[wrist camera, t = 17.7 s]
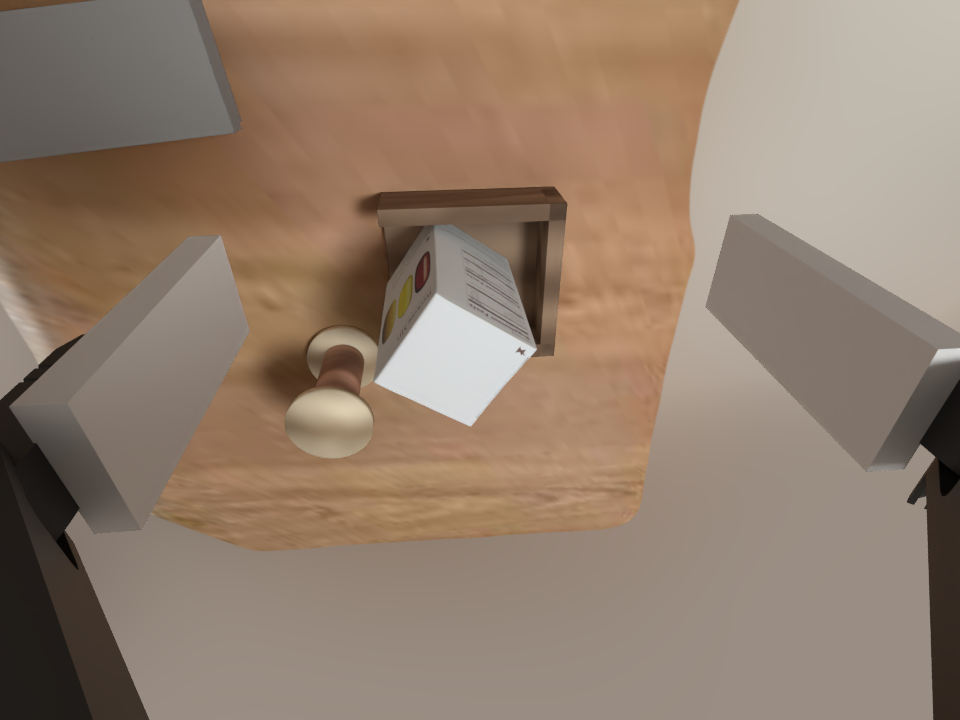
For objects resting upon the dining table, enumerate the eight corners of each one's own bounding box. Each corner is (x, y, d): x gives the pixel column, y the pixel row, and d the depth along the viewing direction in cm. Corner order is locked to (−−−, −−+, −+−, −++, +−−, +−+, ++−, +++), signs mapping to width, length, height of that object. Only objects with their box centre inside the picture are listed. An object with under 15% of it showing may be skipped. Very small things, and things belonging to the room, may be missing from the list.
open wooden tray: (380, 192, 48) (376, 210, 44) (554, 186, 49) (567, 203, 45) (397, 338, 57) (395, 364, 53) (543, 330, 58) (553, 355, 54)
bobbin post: (301, 327, 55) (275, 395, 45) (377, 323, 56) (367, 389, 46) (315, 386, 60) (294, 461, 50) (385, 382, 60) (378, 455, 50)
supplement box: (432, 209, 49) (437, 287, 35) (510, 258, 52) (542, 346, 38) (383, 287, 52) (369, 385, 39) (458, 328, 56) (471, 431, 42)
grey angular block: (239, -5, 39) (185, -11, 30) (273, 108, 43) (234, 133, 34) (-94, 35, 38) (-252, 41, 29) (-26, 145, 43) (-144, 180, 34)
